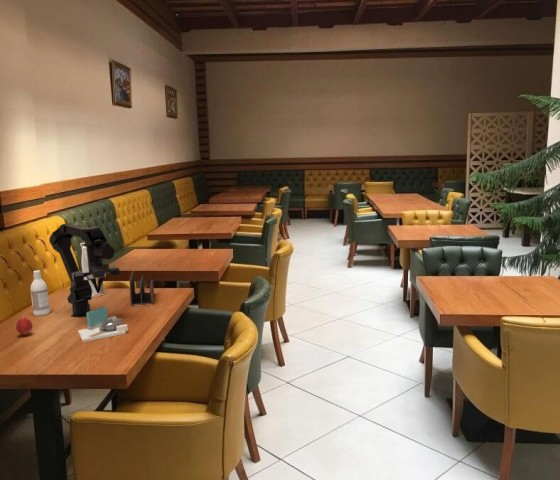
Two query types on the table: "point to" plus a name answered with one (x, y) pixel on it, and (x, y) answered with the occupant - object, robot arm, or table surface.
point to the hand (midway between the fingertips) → (98, 292)
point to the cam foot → (102, 320)
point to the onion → (24, 326)
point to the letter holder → (140, 297)
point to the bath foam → (39, 295)
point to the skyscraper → (86, 269)
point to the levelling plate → (101, 333)
